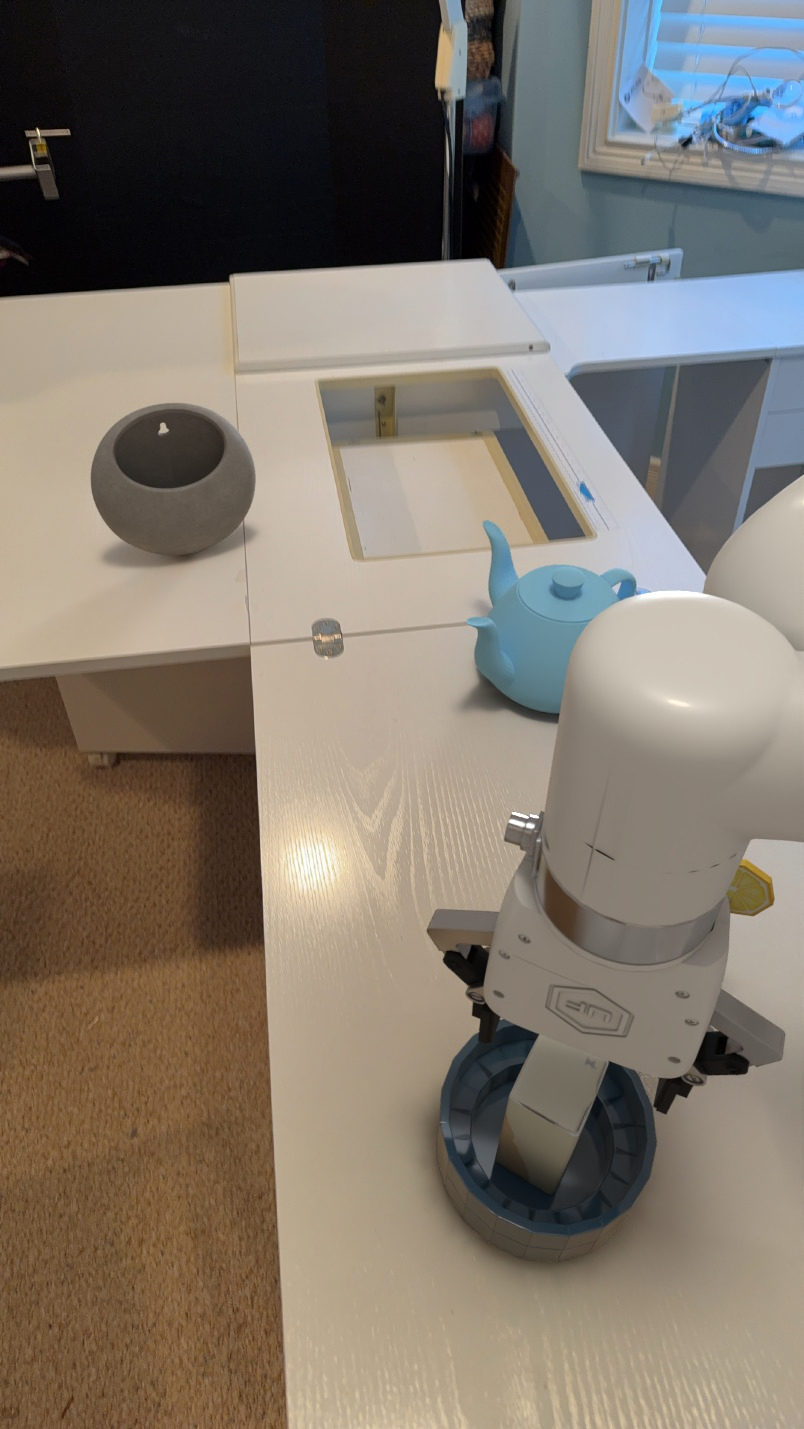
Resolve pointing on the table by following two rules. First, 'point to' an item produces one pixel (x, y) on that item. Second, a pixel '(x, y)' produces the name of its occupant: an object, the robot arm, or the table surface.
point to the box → (548, 1111)
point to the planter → (173, 479)
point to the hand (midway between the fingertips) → (576, 1052)
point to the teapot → (538, 623)
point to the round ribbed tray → (595, 1175)
